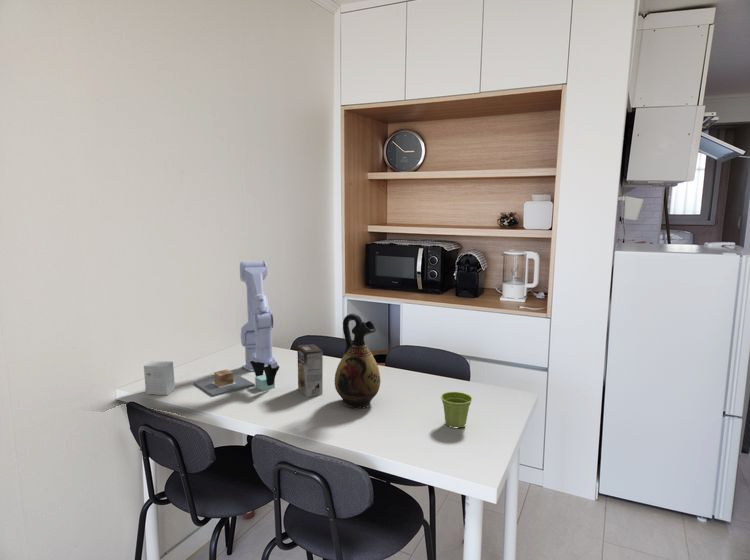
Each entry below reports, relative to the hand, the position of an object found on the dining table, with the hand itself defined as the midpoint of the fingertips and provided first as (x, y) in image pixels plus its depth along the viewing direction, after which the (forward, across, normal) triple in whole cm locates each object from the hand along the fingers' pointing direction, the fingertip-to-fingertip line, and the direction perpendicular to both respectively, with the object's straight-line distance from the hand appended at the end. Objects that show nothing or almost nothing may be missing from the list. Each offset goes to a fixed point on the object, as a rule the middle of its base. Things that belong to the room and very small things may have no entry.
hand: (265, 382), depth 180 cm
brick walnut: (+1, -12, -10) cm, 16 cm away
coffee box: (+2, +14, +10) cm, 17 cm away
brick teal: (+2, 0, 0) cm, 2 cm away
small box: (+2, -20, -30) cm, 36 cm away
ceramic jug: (+2, +32, +16) cm, 36 cm away
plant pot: (+2, +65, +28) cm, 71 cm away
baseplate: (+2, -12, -10) cm, 16 cm away
